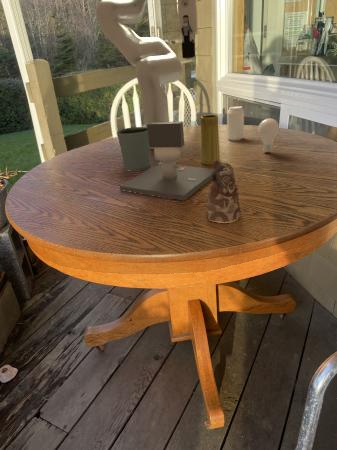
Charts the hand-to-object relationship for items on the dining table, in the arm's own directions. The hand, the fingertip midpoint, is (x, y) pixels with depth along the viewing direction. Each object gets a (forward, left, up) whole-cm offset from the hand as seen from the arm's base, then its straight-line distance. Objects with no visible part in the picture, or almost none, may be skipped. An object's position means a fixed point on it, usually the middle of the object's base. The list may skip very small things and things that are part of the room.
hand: (189, 57), depth 98 cm
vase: (+9, -6, -31) cm, 32 cm away
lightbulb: (+23, +8, -31) cm, 39 cm away
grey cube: (+6, -25, -23) cm, 35 cm away
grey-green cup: (-12, -17, -31) cm, 37 cm away
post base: (+6, -26, -30) cm, 40 cm away
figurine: (+28, -40, -31) cm, 58 cm away
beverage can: (+6, +23, -31) cm, 39 cm away
